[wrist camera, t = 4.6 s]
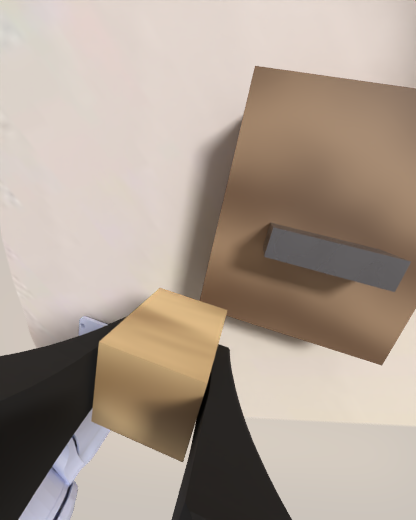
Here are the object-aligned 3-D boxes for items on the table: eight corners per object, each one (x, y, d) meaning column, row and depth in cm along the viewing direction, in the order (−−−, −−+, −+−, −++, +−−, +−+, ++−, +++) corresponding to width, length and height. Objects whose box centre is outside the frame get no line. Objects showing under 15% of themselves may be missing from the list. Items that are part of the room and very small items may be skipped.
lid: (373, 354, 14) (408, 400, 11) (201, 300, 16) (187, 326, 13) (509, 114, 10) (634, 71, 7) (255, 76, 12) (254, 27, 8)
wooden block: (210, 367, 13) (183, 462, 8) (149, 344, 13) (91, 421, 9) (227, 310, 12) (207, 383, 7) (159, 287, 12) (99, 342, 8)
